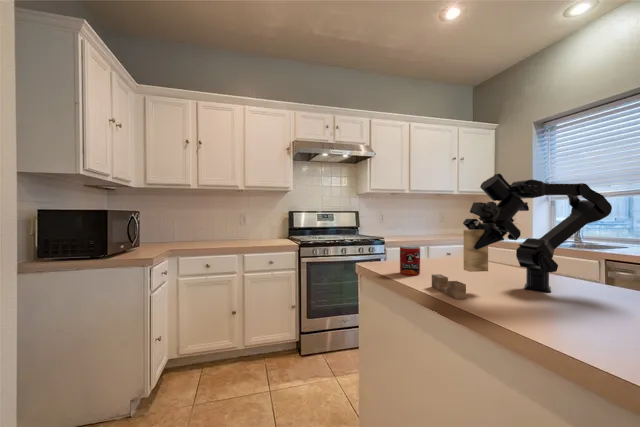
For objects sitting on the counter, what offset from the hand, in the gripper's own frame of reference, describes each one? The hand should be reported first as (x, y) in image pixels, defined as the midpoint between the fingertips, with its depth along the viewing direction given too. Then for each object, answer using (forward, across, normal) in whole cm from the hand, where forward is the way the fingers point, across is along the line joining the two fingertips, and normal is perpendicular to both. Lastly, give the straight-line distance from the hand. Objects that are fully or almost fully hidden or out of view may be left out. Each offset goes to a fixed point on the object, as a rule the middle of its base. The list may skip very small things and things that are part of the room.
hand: (471, 247), depth 87 cm
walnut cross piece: (+15, 0, +4) cm, 16 cm away
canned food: (+15, -26, +4) cm, 30 cm away
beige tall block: (+4, 0, +6) cm, 7 cm away
